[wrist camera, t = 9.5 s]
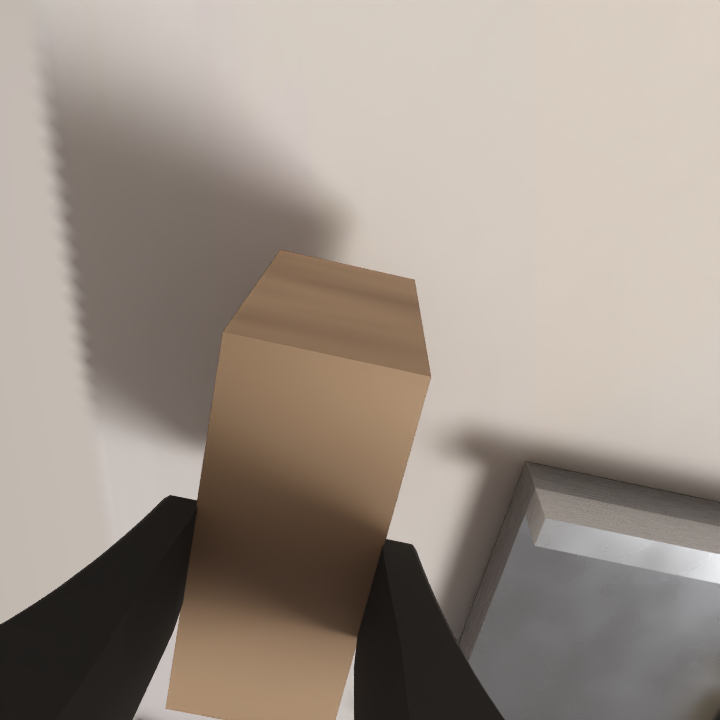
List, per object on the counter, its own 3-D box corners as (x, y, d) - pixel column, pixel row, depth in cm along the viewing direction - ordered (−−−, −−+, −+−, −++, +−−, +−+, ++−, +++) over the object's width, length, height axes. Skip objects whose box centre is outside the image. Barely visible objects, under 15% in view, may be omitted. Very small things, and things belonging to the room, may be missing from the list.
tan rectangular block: (346, 548, 20) (330, 739, 14) (231, 525, 20) (165, 708, 14) (414, 279, 17) (431, 376, 11) (280, 249, 17) (222, 331, 11)
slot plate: (663, 776, 27) (694, 855, 25) (425, 731, 27) (429, 806, 24) (816, 523, 22) (877, 587, 20) (526, 461, 22) (545, 518, 19)
